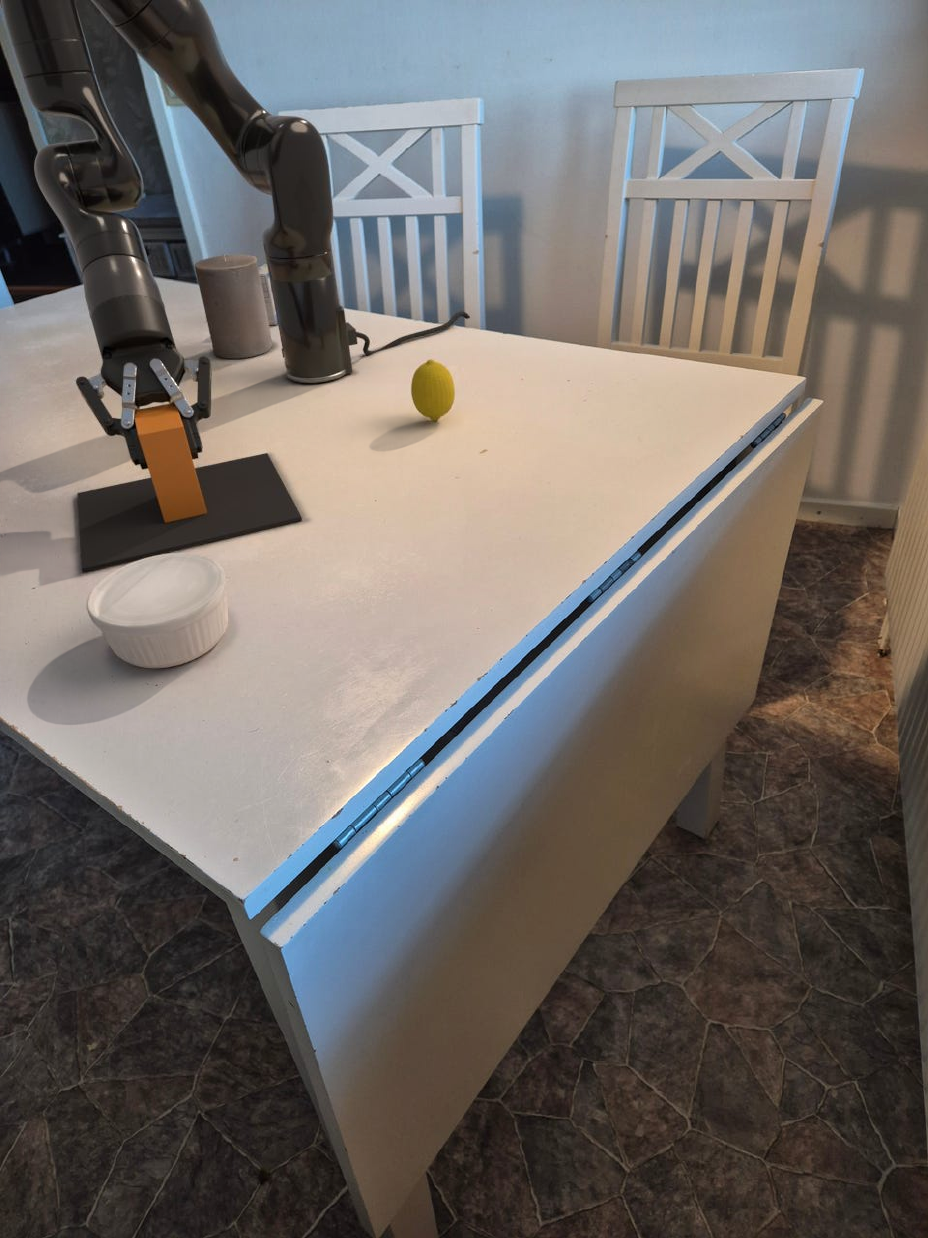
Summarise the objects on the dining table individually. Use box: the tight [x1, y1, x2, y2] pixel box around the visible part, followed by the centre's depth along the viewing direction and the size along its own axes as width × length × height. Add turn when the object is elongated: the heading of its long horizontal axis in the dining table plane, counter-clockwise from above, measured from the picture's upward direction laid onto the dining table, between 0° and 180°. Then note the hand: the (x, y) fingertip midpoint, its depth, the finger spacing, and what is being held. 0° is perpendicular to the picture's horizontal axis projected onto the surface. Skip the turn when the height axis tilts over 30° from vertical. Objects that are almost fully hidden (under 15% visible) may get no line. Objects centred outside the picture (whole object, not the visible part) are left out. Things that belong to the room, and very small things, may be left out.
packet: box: [135, 403, 207, 523], centre depth 86 cm, size 4×7×10 cm, turn 22°
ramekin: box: [86, 552, 229, 669], centre depth 68 cm, size 11×11×5 cm
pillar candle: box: [194, 251, 273, 360], centre depth 129 cm, size 10×10×15 cm
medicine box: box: [258, 263, 278, 326], centre depth 145 cm, size 8×4×9 cm, turn 168°
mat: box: [76, 452, 303, 573], centre depth 89 cm, size 22×18×1 cm
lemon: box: [410, 359, 456, 422], centre depth 103 cm, size 6×6×8 cm
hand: (169, 460), depth 84 cm, fingers closed on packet, 4 cm apart
